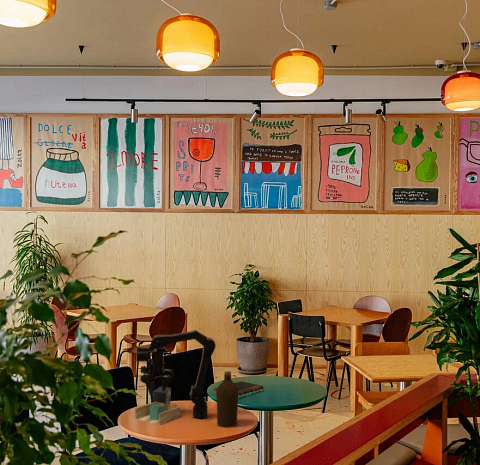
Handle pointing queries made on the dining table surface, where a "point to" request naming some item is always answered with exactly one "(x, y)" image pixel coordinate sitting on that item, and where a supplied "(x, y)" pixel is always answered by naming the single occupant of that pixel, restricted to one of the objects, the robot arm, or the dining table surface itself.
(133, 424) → the dining table surface
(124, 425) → the dining table surface
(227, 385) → the olive oil
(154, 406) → the teal block
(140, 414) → the birch crate
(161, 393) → the small box
